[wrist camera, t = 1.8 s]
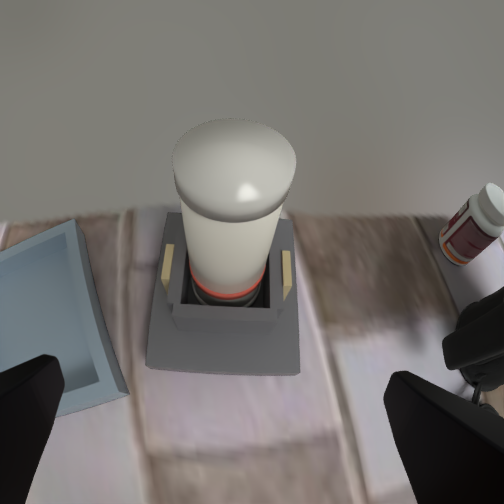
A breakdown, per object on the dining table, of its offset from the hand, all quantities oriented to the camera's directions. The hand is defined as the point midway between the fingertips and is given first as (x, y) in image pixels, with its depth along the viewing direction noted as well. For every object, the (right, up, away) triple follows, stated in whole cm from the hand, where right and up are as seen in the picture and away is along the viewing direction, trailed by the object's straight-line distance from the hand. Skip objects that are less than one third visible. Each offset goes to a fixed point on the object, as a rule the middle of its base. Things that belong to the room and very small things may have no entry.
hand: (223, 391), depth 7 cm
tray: (-16, -3, +12) cm, 20 cm away
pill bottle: (+22, +4, +21) cm, 30 cm away
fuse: (-1, +1, +14) cm, 14 cm away
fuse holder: (-1, 0, +16) cm, 16 cm away
